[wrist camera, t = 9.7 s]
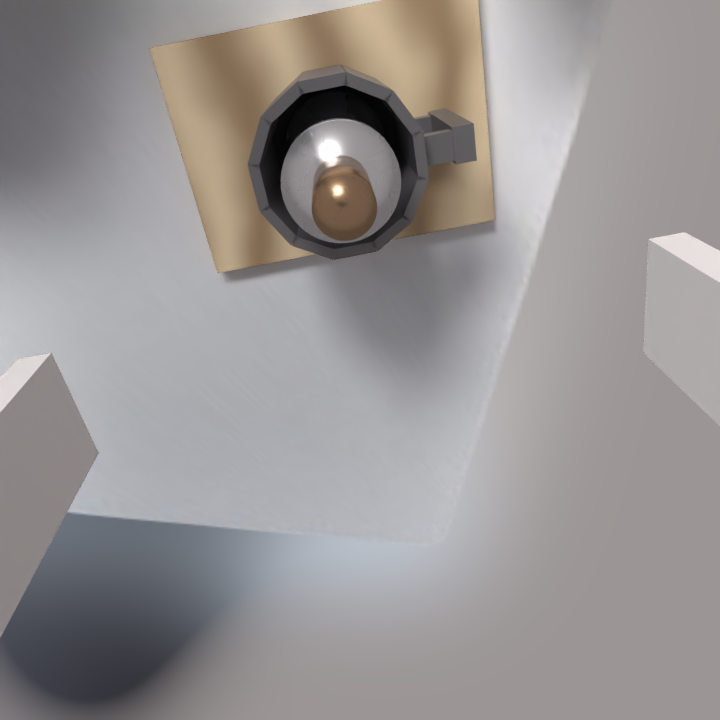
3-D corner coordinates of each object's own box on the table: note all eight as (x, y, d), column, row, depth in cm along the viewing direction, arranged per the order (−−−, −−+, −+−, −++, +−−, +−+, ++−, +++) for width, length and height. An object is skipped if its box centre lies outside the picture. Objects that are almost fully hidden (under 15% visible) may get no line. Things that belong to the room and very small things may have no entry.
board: (219, 268, 49) (217, 273, 48) (153, 47, 42) (149, 48, 41) (491, 215, 48) (495, 219, 47) (472, -18, 41) (476, -20, 40)
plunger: (298, 201, 44) (284, 296, 28) (276, 101, 41) (245, 141, 25) (391, 183, 44) (432, 268, 28) (375, 81, 41) (412, 108, 24)
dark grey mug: (285, 218, 46) (274, 270, 36) (252, 81, 42) (229, 95, 31) (448, 186, 46) (486, 230, 35) (432, 45, 42) (470, 46, 31)
